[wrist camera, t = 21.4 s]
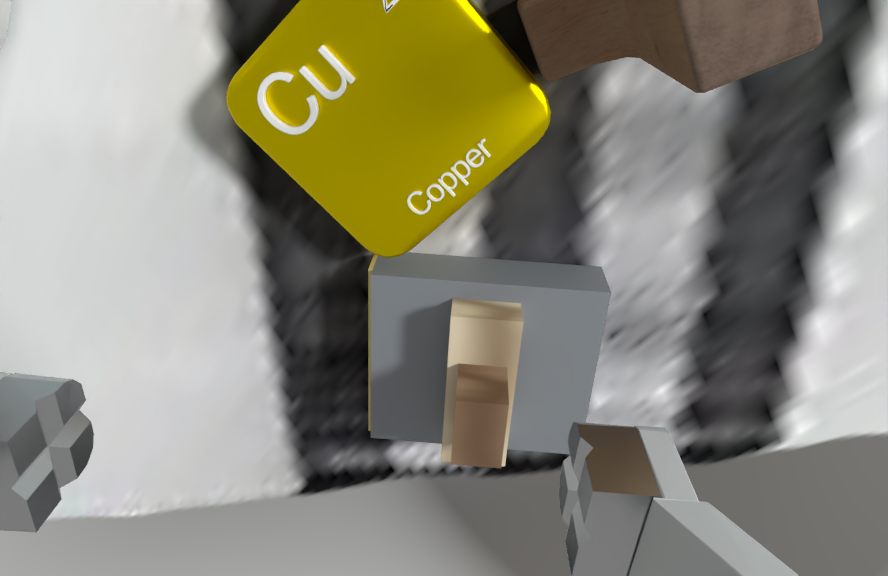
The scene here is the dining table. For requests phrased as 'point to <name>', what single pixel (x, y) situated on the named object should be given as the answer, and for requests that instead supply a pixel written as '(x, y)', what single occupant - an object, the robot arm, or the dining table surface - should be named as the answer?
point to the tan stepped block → (481, 352)
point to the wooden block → (671, 35)
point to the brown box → (480, 415)
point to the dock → (427, 342)
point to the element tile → (389, 111)
